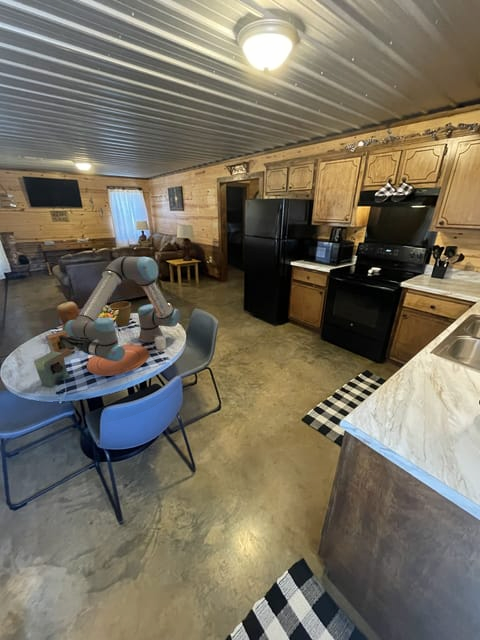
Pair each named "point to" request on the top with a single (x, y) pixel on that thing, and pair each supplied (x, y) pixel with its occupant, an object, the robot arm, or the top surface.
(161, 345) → the shot glass
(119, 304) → the plant pot
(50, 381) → the front housing
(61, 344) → the back button
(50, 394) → the top surface
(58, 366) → the front button
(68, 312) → the butternut squash
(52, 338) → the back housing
